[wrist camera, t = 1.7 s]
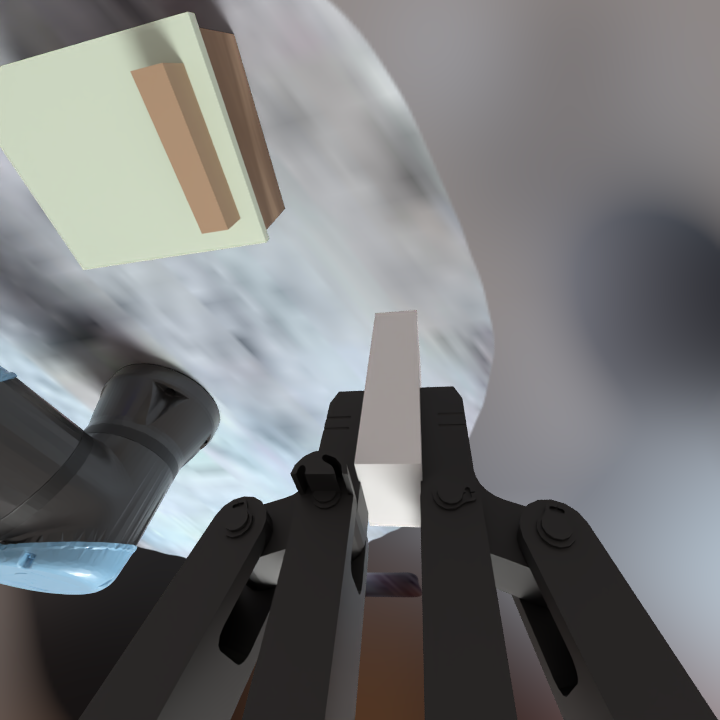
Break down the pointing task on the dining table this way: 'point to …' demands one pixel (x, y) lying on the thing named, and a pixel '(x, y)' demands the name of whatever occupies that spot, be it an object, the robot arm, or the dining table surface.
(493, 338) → the dining table surface
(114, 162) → the lid
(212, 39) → the box
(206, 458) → the dining table surface
